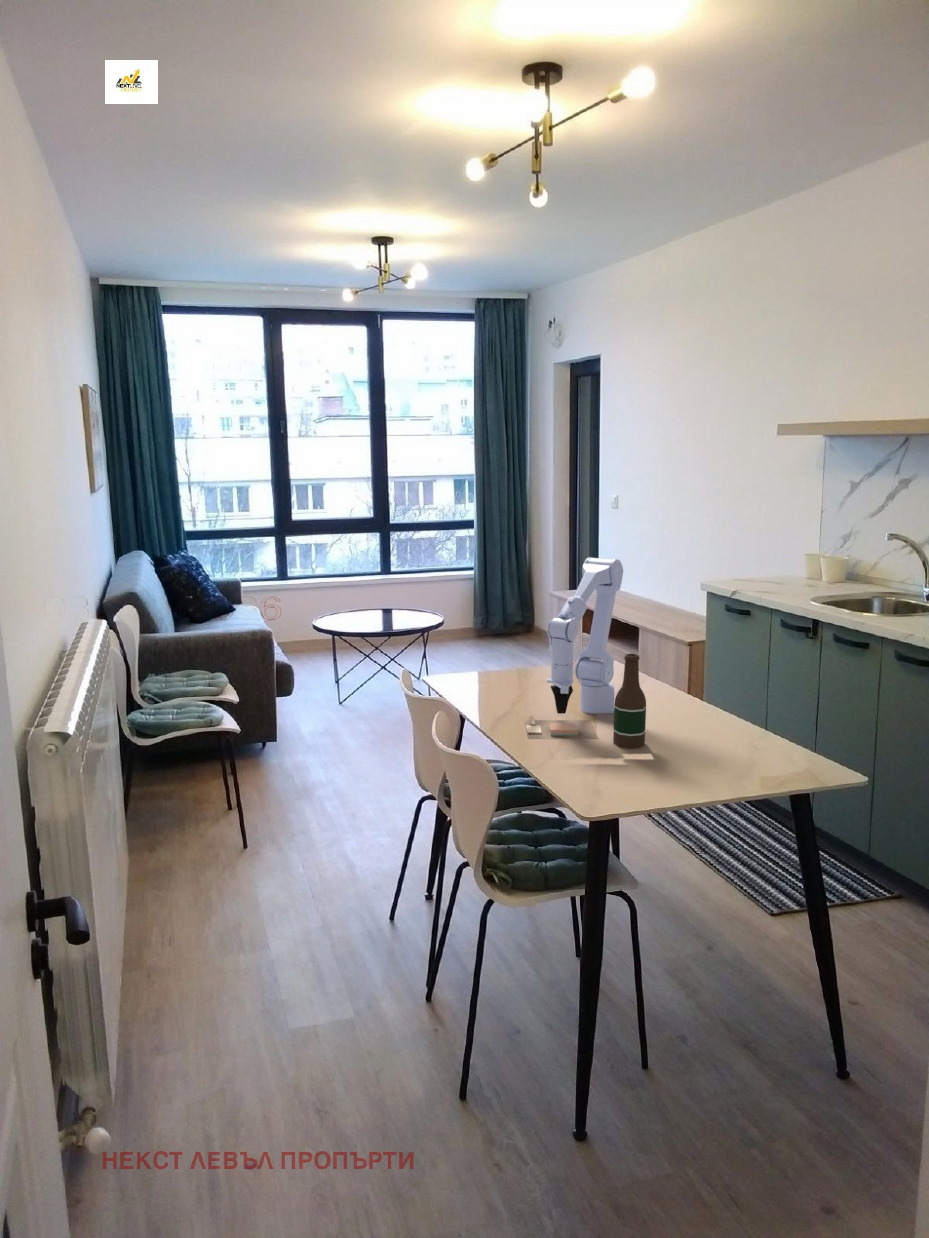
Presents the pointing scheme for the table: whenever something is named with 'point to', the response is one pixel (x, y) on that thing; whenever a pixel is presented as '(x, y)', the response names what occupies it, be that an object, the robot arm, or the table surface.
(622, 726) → the beer bottle
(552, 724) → the tile
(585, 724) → the board
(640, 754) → the table surface
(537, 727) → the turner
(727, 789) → the table surface
